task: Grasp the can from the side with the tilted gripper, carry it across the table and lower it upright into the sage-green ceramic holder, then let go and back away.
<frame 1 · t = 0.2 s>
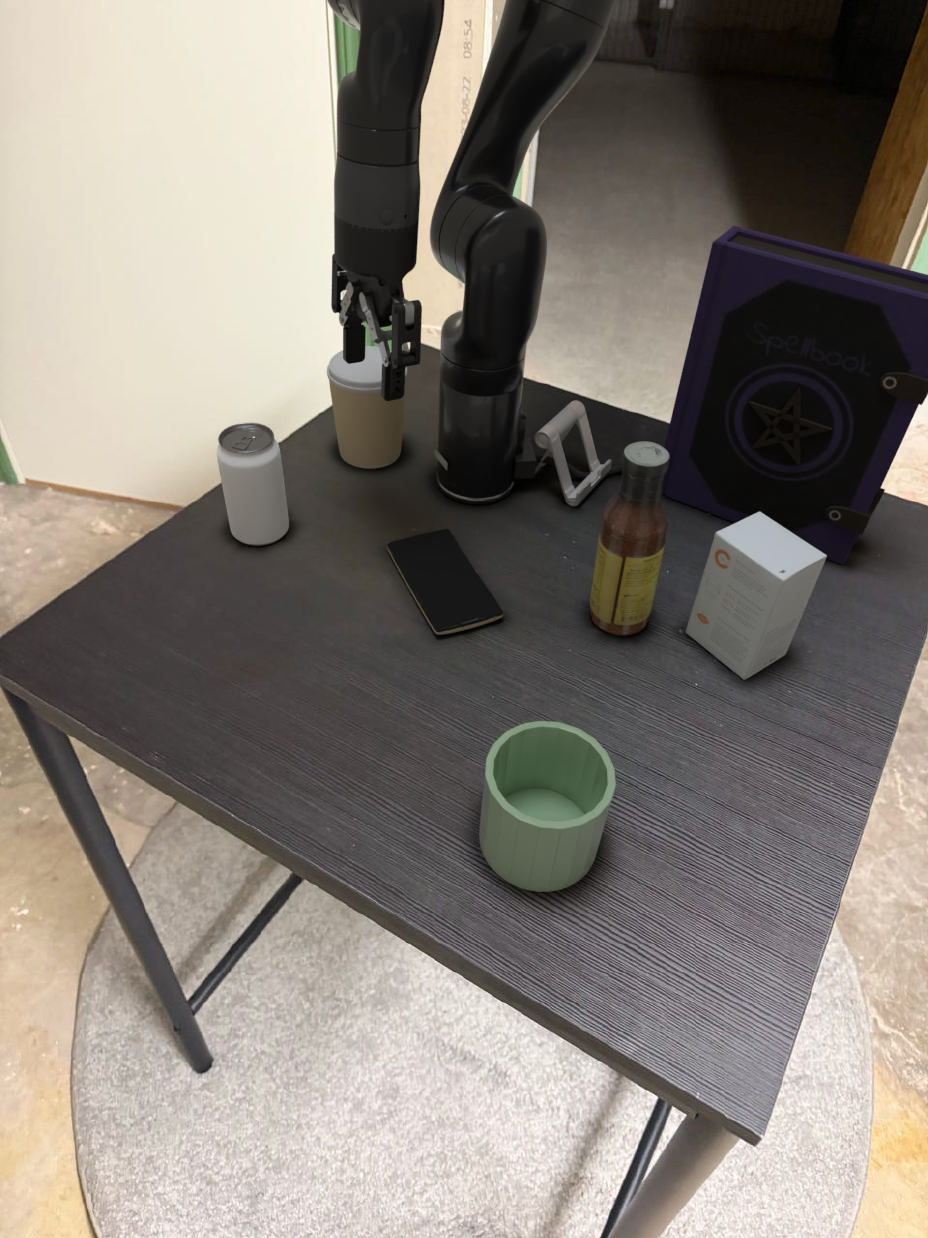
hand: (372, 379, 88), 17 cm above the table, tool pointing down, fingers open, 8 cm apart
holder: (538, 837, 70), on the table
book: (753, 518, 103), on the table
can: (260, 530, 97), on the table
sauce bottle: (615, 618, 89), on the table
tablet stand: (565, 481, 106), on the table
smartphone: (442, 585, 92), on the table
small box: (733, 645, 87), on the table
coffee cup: (370, 452, 109), on the table
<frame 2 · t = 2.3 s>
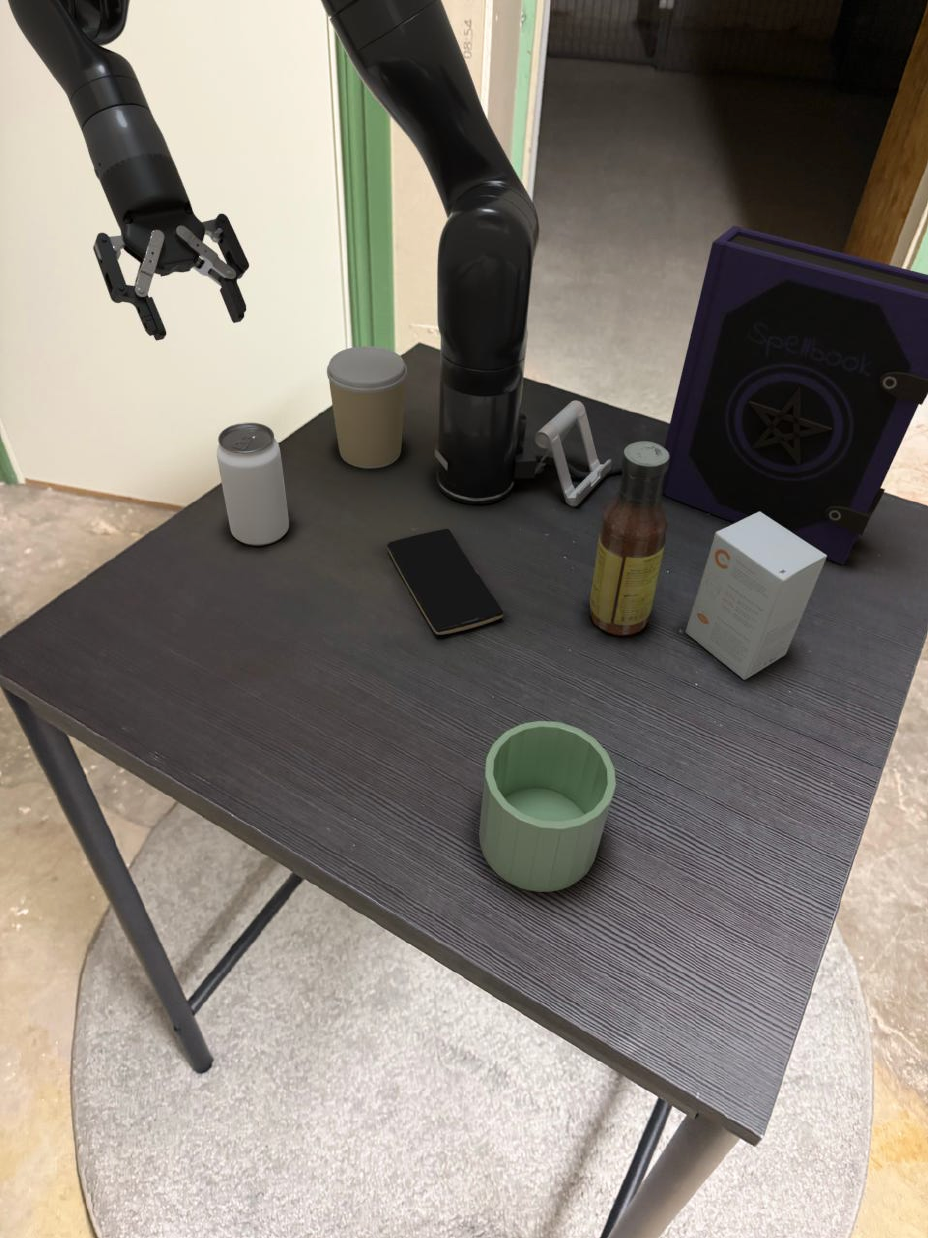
hand: (201, 328, 89), 20 cm above the table, tool tilted 40°, fingers open, 8 cm apart
nothing on the table moved.
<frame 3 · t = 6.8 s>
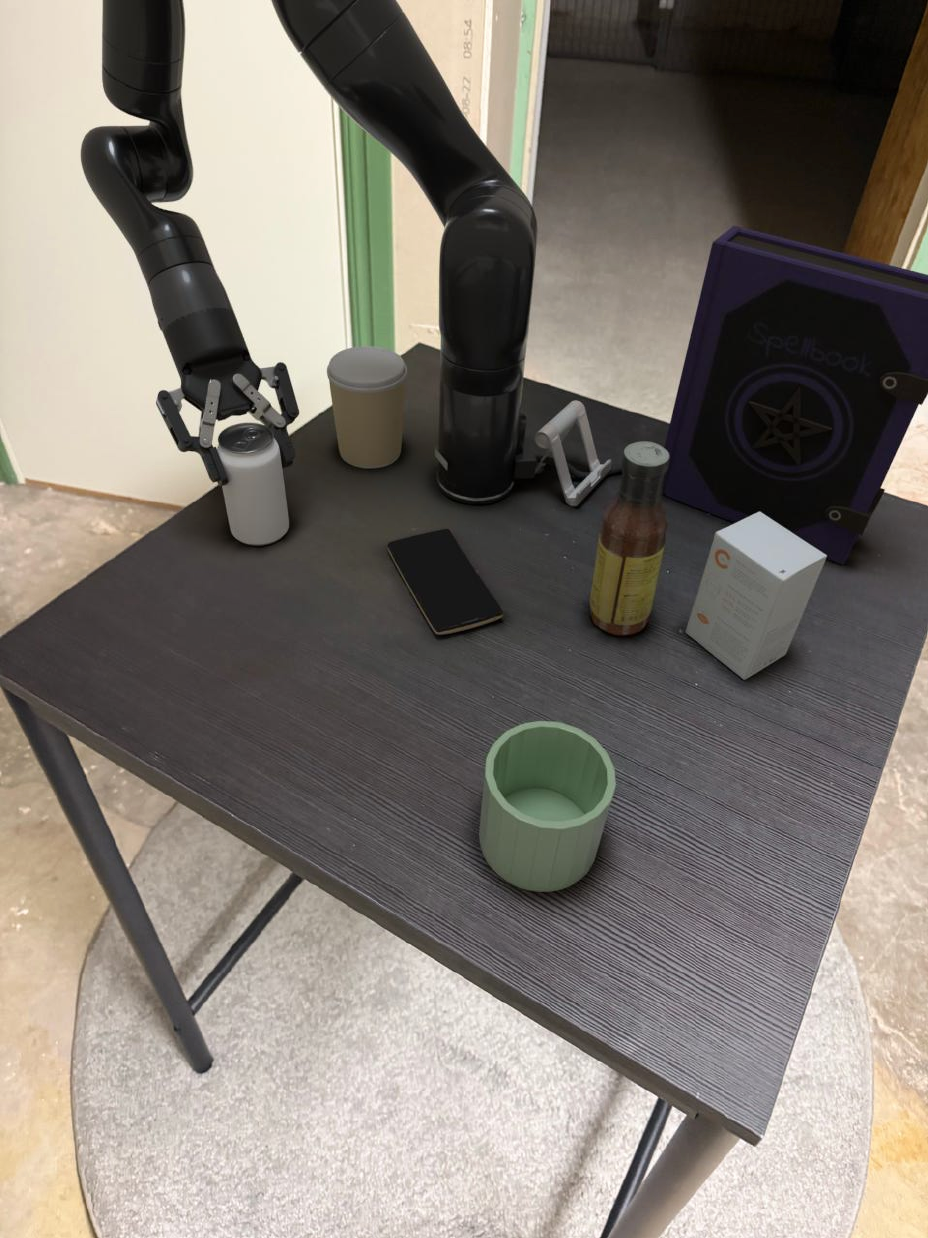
hand: (256, 474, 90), 8 cm above the table, tool tilted 45°, fingers closed on can, 6 cm apart
can: (260, 530, 97), on the table, touching gripper
everything else where it was.
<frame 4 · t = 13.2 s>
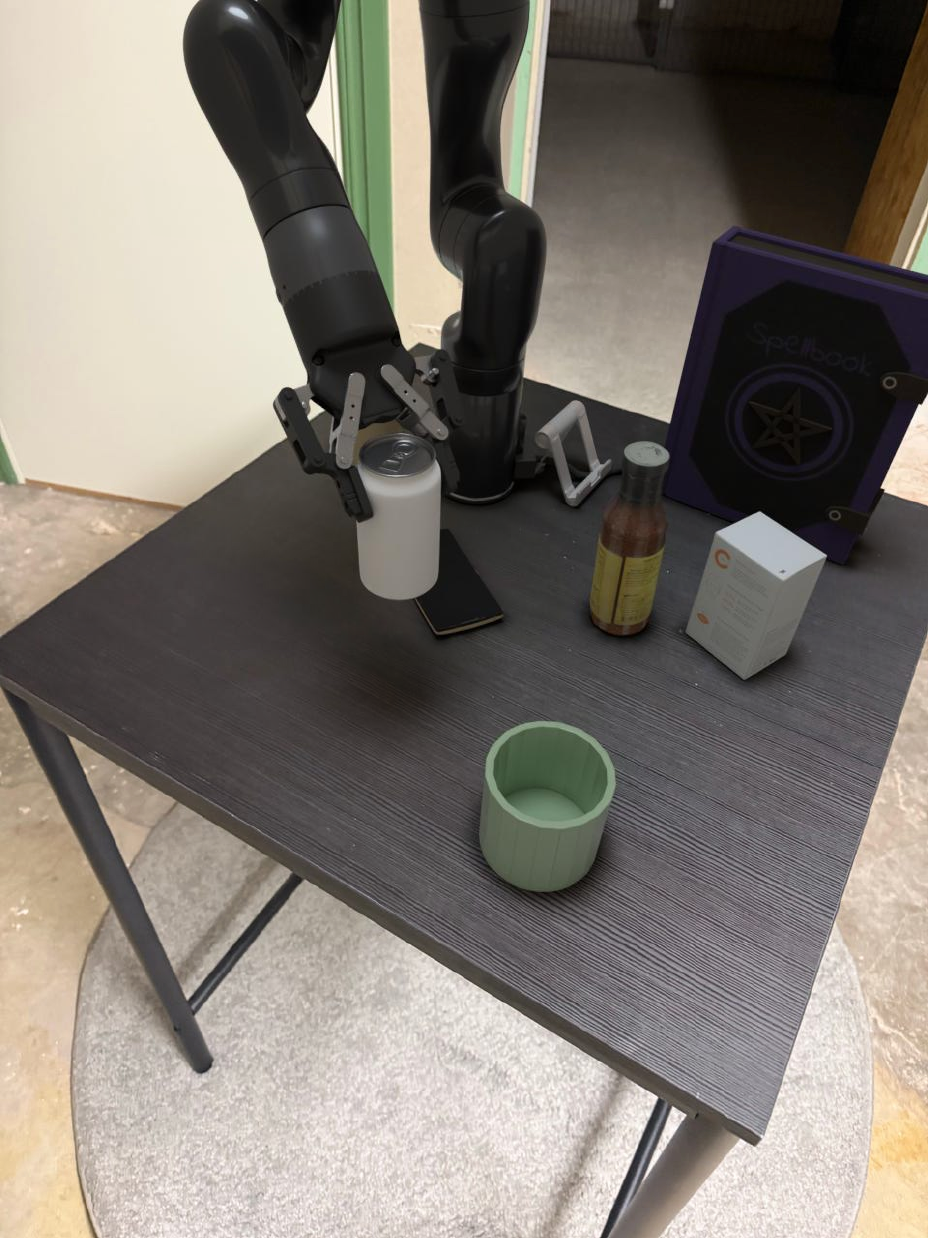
hand: (408, 505, 65), 22 cm above the table, tool tilted 45°, fingers closed on can, 6 cm apart
can: (399, 578, 72), point 14 cm above the table, touching gripper
everything else where it was.
when the fingers open (10 cm above the table, at t = 19.8 s): can stays where it is, resting on holder.
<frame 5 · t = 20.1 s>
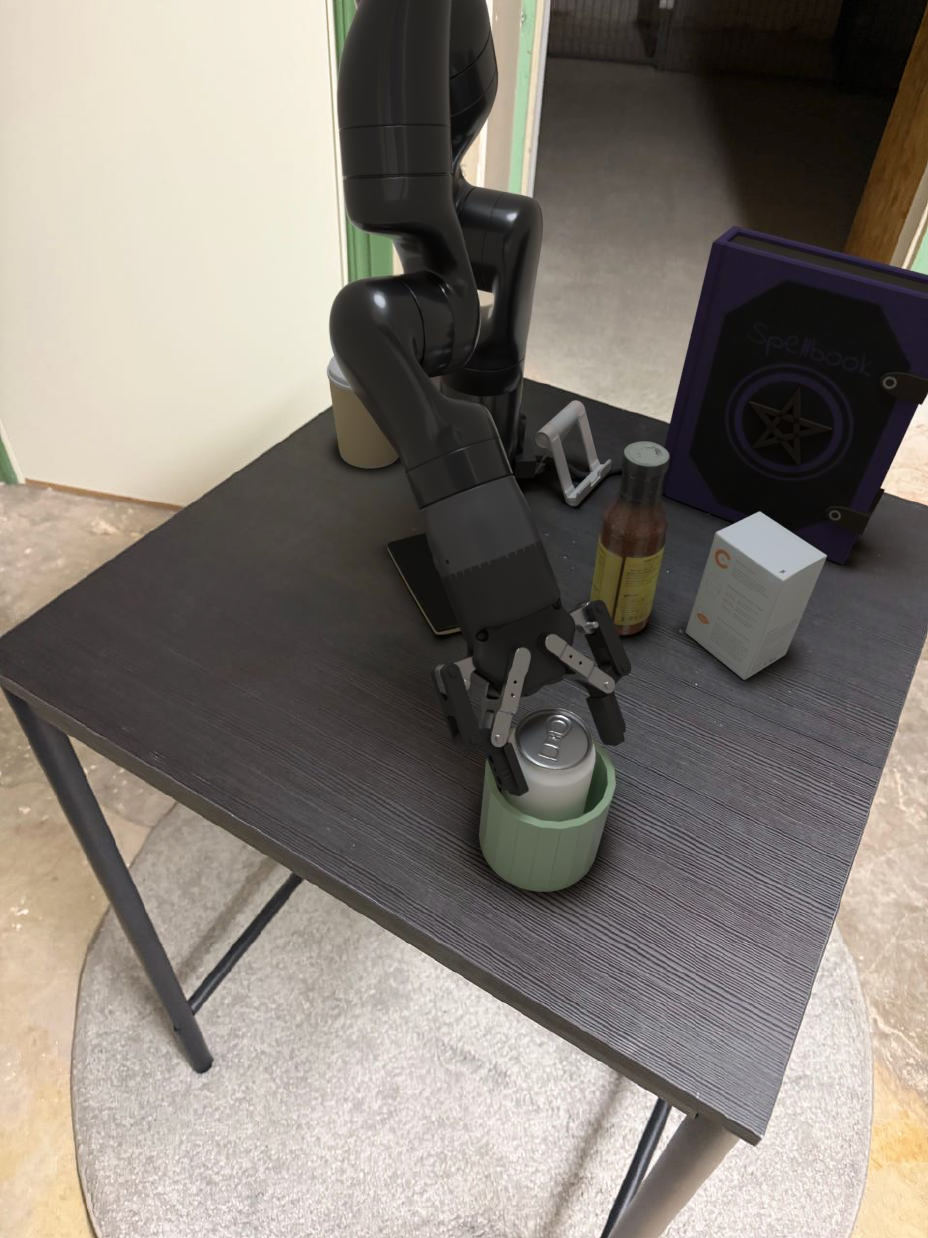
hand: (568, 767, 62), 11 cm above the table, tool tilted 45°, fingers open, 8 cm apart
can: (536, 830, 70), point 1 cm above the table, touching holder
everything else where it was.
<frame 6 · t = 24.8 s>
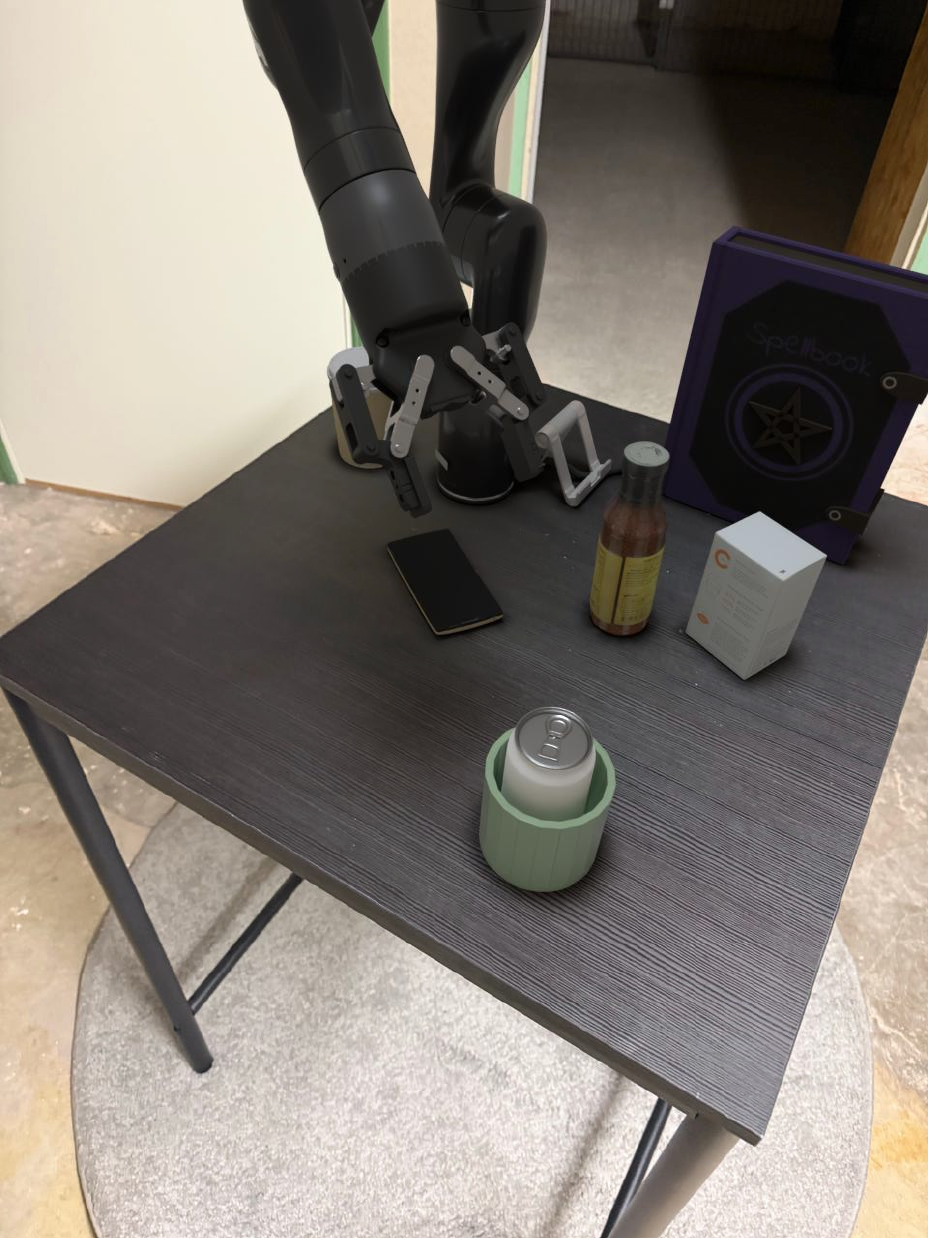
hand: (478, 495, 59), 27 cm above the table, tool tilted 45°, fingers open, 8 cm apart
nothing on the table moved.
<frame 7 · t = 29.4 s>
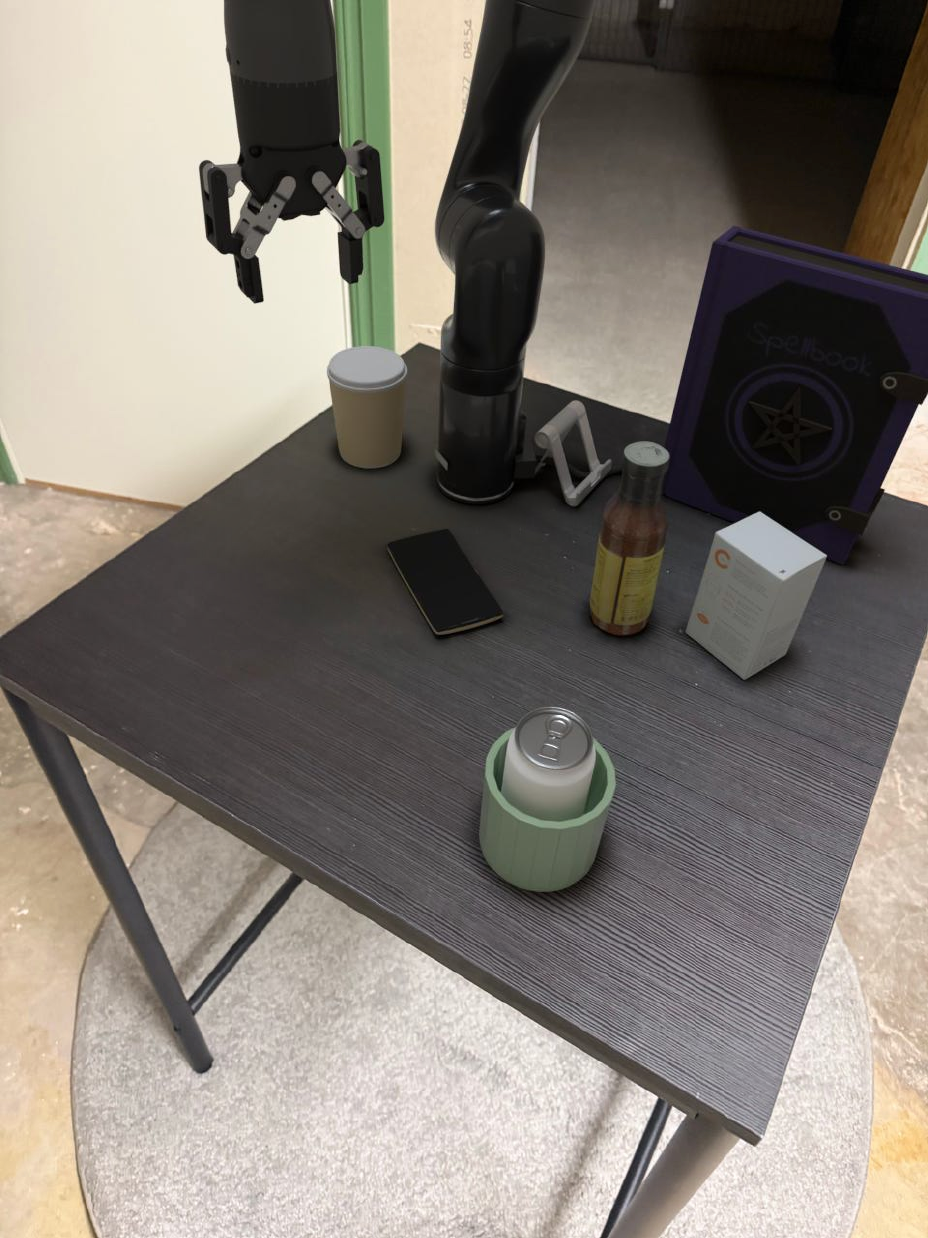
hand: (303, 289, 72), 30 cm above the table, tool pointing down, fingers open, 8 cm apart
nothing on the table moved.
at the end: can 0.3 cm off-centre in the holder, point 0.6 cm above the holder's base; can tilted 0°; the gripper is holding nothing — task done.
